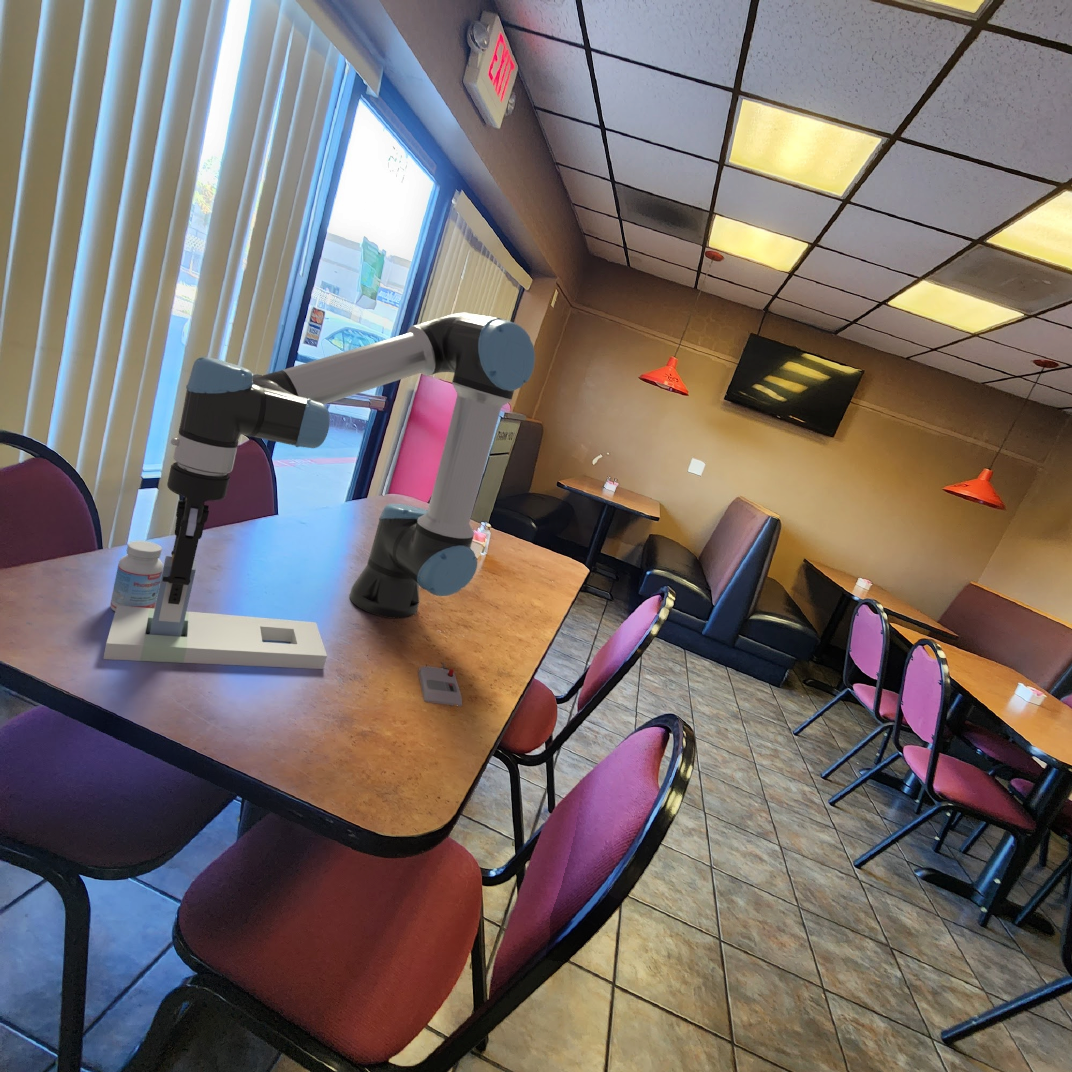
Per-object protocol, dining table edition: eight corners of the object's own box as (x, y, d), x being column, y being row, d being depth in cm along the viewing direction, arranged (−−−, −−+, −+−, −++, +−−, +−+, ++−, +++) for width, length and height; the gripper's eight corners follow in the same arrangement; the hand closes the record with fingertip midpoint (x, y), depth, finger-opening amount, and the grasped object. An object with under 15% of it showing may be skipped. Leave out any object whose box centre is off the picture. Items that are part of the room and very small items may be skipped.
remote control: (424, 710, 97) (429, 695, 96) (415, 663, 111) (419, 649, 110) (462, 715, 99) (467, 700, 98) (448, 668, 113) (453, 655, 113)
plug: (180, 629, 92) (197, 553, 90) (179, 641, 89) (197, 563, 86) (150, 627, 90) (167, 549, 88) (148, 639, 87) (165, 559, 84)
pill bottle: (132, 621, 92) (145, 556, 90) (100, 607, 93) (112, 542, 91) (163, 610, 98) (176, 549, 96) (132, 597, 99) (144, 536, 97)
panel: (312, 634, 107) (315, 622, 107) (323, 669, 97) (327, 655, 97) (114, 619, 91) (117, 605, 91) (103, 659, 81) (106, 643, 81)
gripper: (174, 448, 89) (145, 587, 94) (168, 477, 75) (135, 638, 80) (229, 460, 93) (198, 592, 98) (233, 489, 79) (197, 642, 84)
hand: (170, 613), depth 89 cm, fingers closed on plug, 4 cm apart
